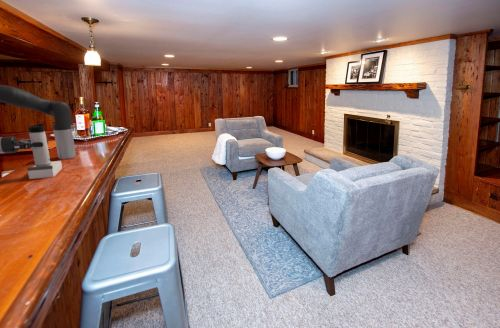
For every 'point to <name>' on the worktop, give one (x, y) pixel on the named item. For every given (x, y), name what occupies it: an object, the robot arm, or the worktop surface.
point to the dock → (44, 170)
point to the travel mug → (39, 152)
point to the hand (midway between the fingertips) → (45, 143)
